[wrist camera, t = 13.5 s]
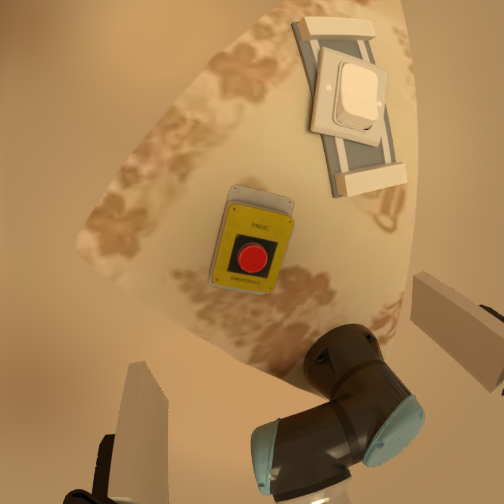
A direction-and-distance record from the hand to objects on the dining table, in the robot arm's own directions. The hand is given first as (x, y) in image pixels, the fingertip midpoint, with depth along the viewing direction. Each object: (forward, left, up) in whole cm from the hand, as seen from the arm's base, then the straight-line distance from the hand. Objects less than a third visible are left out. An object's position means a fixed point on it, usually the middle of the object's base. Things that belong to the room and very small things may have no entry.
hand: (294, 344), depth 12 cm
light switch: (+13, -21, -27) cm, 37 cm away
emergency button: (-5, -2, -29) cm, 30 cm away
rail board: (+12, -22, -29) cm, 38 cm away
